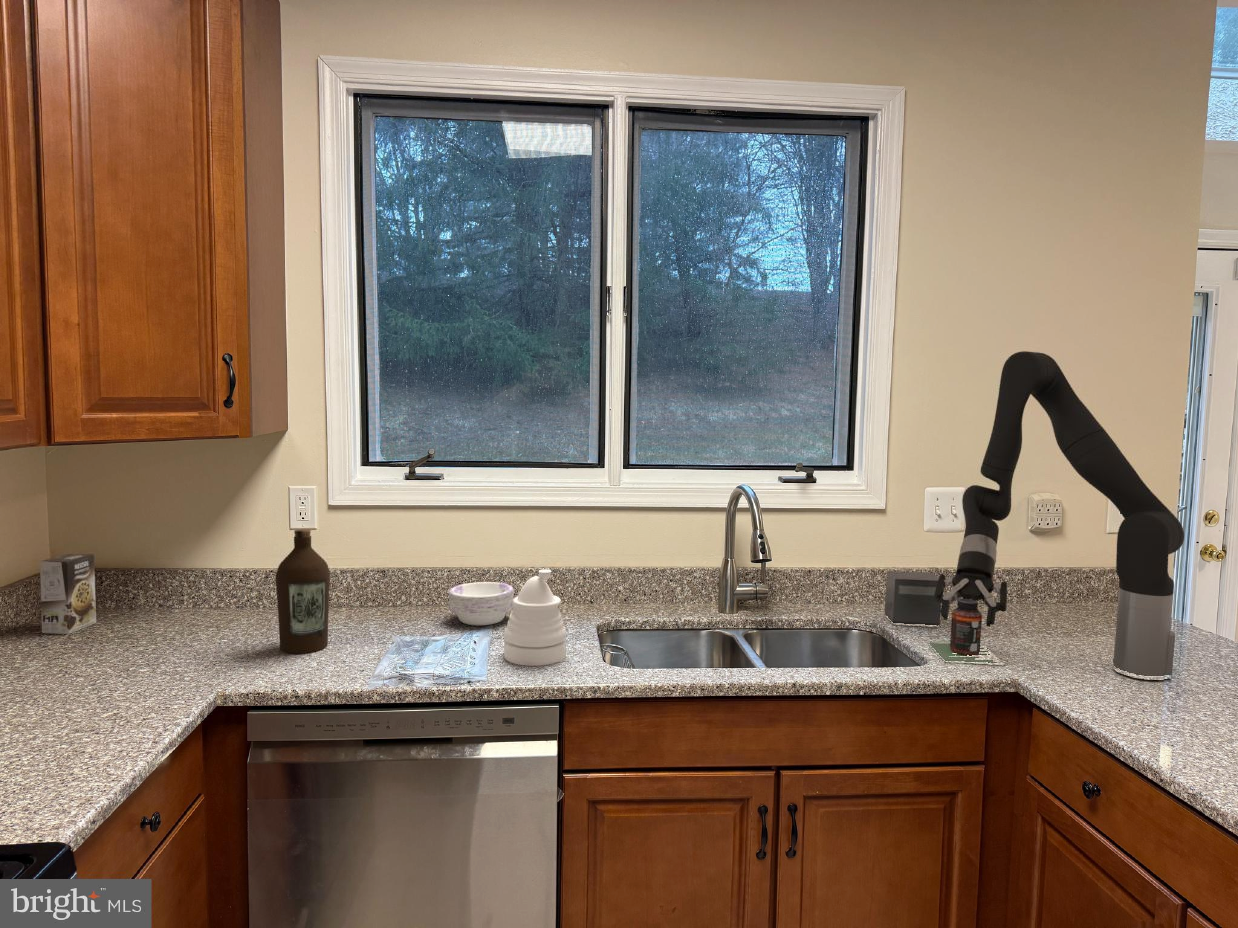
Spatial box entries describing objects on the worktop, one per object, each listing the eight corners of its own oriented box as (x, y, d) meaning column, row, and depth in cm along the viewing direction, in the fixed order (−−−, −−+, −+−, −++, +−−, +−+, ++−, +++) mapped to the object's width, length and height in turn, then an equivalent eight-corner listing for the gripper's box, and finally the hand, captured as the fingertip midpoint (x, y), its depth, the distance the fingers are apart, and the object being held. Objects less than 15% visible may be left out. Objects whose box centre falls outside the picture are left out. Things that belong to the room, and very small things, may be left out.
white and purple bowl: (443, 615, 196) (443, 583, 195) (504, 609, 202) (504, 578, 201) (455, 632, 182) (456, 598, 181) (520, 626, 188) (521, 593, 187)
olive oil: (272, 644, 171) (270, 528, 169) (324, 636, 177) (322, 524, 175) (282, 658, 162) (280, 536, 160) (336, 649, 168) (335, 531, 166)
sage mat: (984, 648, 178) (984, 645, 178) (1004, 665, 166) (1004, 663, 166) (928, 645, 179) (929, 642, 179) (944, 662, 167) (944, 659, 167)
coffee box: (70, 634, 175) (67, 561, 173) (40, 633, 175) (37, 560, 174) (98, 622, 184) (95, 553, 182) (70, 622, 184) (67, 552, 183)
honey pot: (574, 649, 172) (575, 566, 170) (553, 668, 159) (554, 579, 158) (518, 643, 175) (519, 562, 174) (493, 661, 163) (494, 574, 161)
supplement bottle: (982, 657, 169) (985, 605, 168) (952, 655, 171) (955, 602, 170) (976, 649, 175) (979, 598, 174) (947, 646, 176) (950, 596, 176)
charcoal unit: (928, 616, 203) (931, 572, 202) (940, 628, 193) (943, 581, 192) (884, 614, 204) (886, 570, 203) (893, 625, 194) (895, 579, 193)
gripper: (941, 546, 181) (929, 606, 172) (1011, 553, 174) (1002, 617, 165) (944, 565, 186) (932, 625, 177) (1012, 573, 179) (1003, 636, 170)
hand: (966, 621), depth 171 cm, fingers open, 8 cm apart
